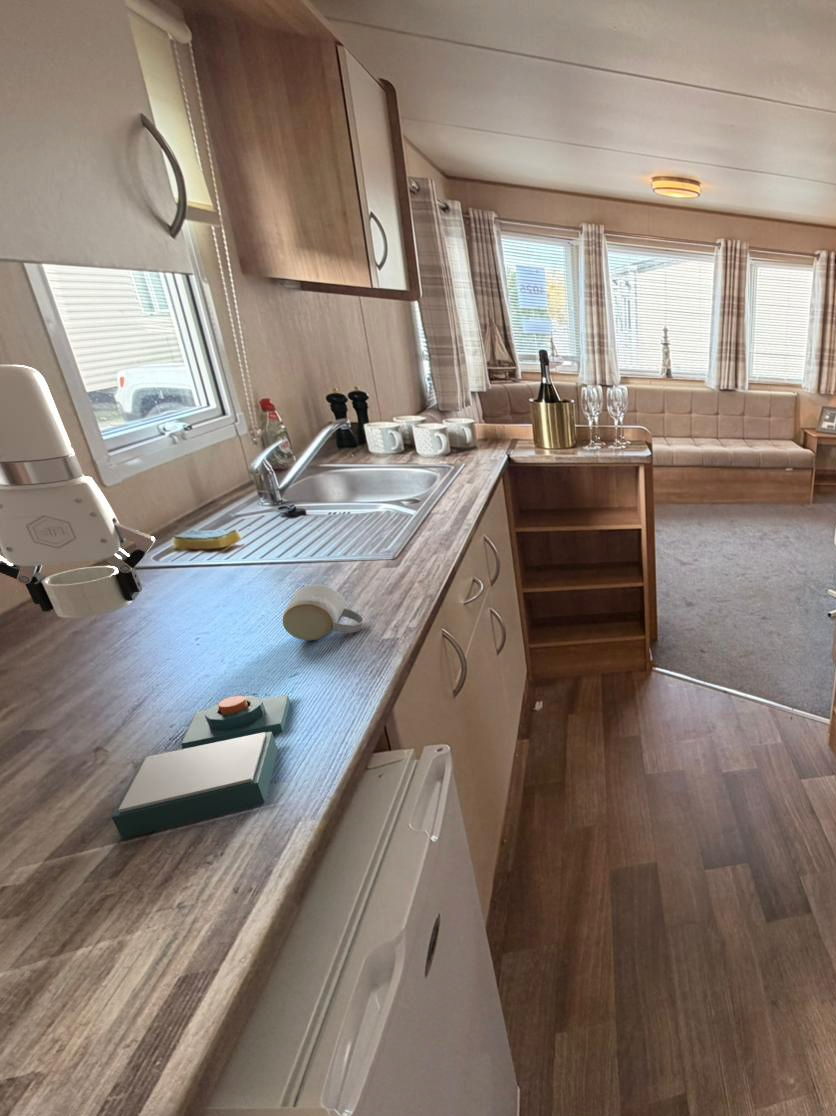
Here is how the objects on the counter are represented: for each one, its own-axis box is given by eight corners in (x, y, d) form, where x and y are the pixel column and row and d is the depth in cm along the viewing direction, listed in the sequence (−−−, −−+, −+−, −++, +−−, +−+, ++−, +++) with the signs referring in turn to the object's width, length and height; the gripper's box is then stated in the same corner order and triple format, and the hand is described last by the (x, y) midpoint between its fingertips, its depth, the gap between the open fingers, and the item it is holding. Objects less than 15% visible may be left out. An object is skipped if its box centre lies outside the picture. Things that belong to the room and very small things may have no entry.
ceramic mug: (285, 646, 106) (273, 604, 103) (299, 625, 113) (288, 585, 110) (360, 638, 110) (351, 597, 107) (369, 619, 117) (360, 580, 114)
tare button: (219, 717, 83) (215, 709, 82) (223, 707, 85) (220, 698, 85) (246, 712, 84) (243, 703, 84) (250, 702, 87) (247, 693, 86)
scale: (121, 839, 67) (109, 814, 66) (152, 778, 76) (142, 755, 74) (265, 803, 73) (256, 779, 72) (278, 750, 82) (270, 728, 80)
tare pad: (184, 753, 80) (176, 733, 79) (199, 720, 87) (192, 701, 85) (283, 732, 85) (276, 713, 84) (290, 702, 91) (284, 684, 90)
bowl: (47, 622, 81) (31, 589, 79) (67, 602, 87) (53, 570, 85) (123, 612, 85) (110, 580, 83) (138, 593, 90) (126, 563, 88)
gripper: (-90, 483, 71) (-16, 625, 78) (124, 472, 80) (173, 601, 87) (-55, 470, 77) (10, 603, 84) (141, 460, 86) (185, 582, 93)
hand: (93, 601), depth 85 cm, fingers closed on bowl, 7 cm apart
